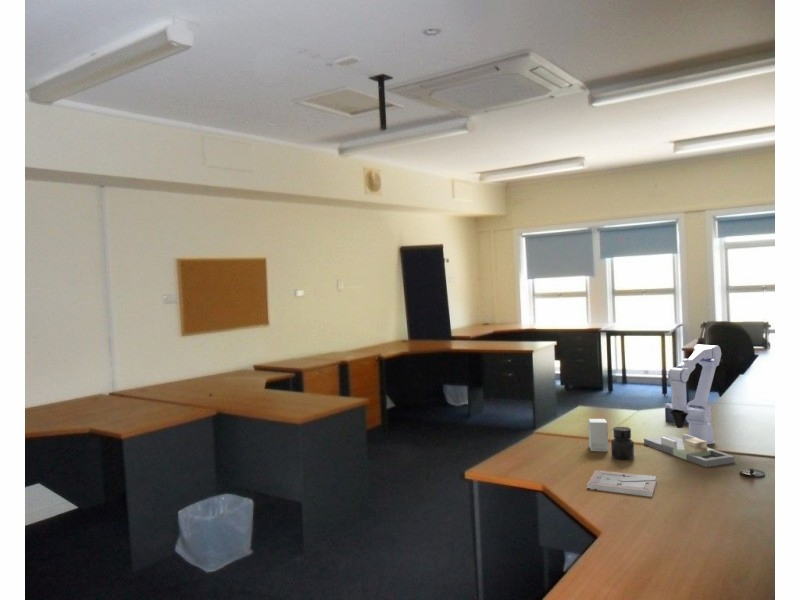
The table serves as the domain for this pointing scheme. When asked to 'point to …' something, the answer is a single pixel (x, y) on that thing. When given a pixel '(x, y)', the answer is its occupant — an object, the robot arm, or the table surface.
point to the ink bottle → (622, 444)
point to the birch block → (695, 445)
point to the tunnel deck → (677, 449)
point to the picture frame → (623, 483)
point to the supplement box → (598, 434)
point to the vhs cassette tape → (669, 416)
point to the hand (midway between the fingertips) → (679, 427)
